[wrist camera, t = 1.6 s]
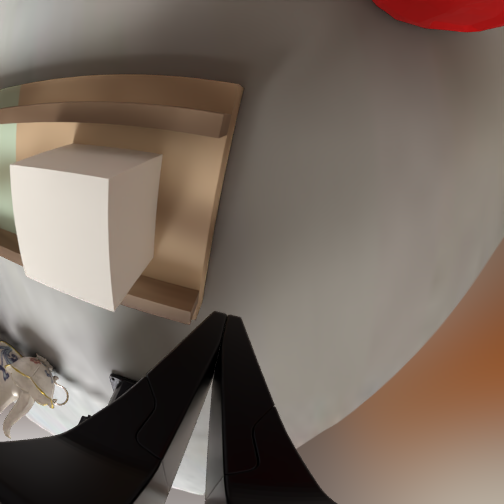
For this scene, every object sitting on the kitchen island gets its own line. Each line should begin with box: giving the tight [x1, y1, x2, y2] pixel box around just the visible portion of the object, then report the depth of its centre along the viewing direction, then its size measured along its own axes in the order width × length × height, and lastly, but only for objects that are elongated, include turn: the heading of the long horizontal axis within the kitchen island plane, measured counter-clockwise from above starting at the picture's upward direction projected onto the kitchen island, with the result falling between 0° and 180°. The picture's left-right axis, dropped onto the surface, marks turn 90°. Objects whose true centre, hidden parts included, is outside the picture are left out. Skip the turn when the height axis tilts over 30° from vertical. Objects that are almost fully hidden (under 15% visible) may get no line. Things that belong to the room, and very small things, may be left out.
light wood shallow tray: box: [0, 74, 244, 325], centre depth 14 cm, size 14×32×4 cm, turn 77°
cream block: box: [10, 143, 163, 312], centre depth 12 cm, size 6×6×5 cm
